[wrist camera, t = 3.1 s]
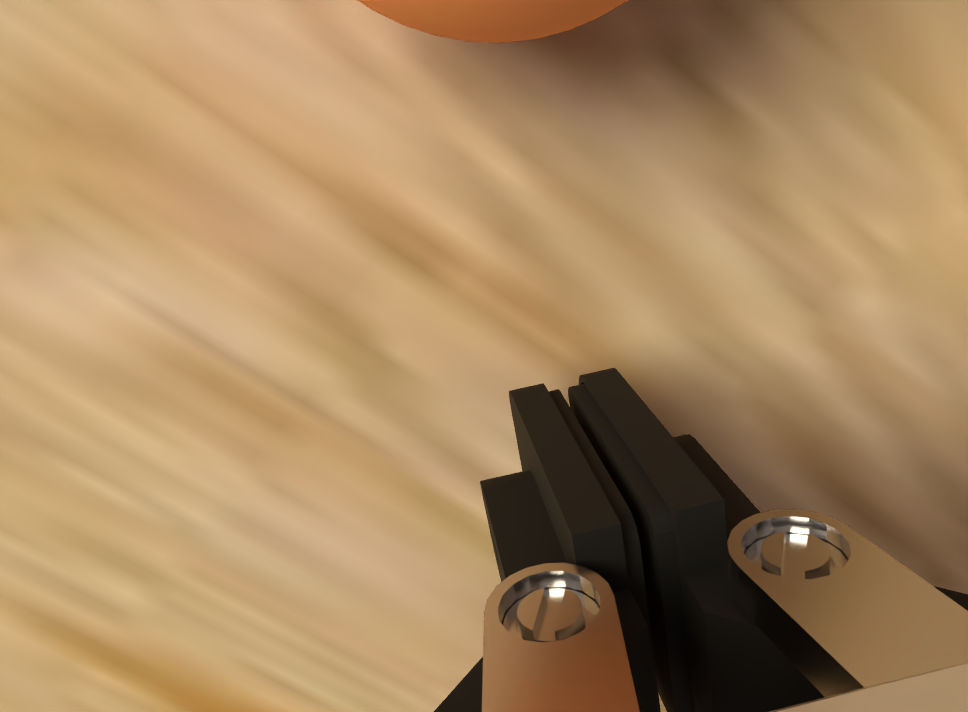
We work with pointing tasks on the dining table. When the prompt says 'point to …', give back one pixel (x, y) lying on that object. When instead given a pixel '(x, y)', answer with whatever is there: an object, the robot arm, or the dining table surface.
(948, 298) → the dining table surface
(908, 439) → the dining table surface
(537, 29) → the ball
